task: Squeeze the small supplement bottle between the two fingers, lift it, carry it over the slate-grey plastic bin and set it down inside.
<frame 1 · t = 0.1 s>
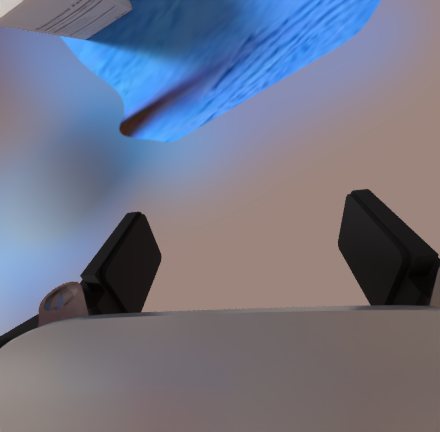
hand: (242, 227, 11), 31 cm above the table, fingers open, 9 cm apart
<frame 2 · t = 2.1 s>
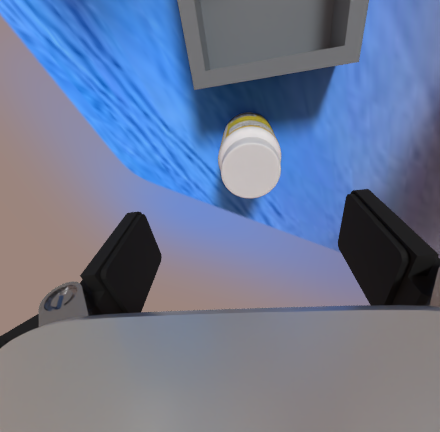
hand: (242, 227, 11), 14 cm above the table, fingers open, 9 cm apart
supplement bottle: (247, 137, 22), on the table
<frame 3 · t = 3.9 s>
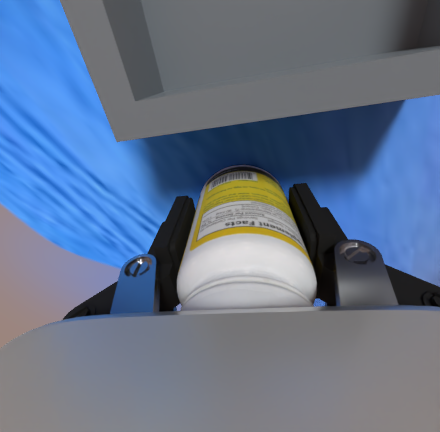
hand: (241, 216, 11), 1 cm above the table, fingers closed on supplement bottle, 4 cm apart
supplement bottle: (241, 200, 13), on the table, touching gripper
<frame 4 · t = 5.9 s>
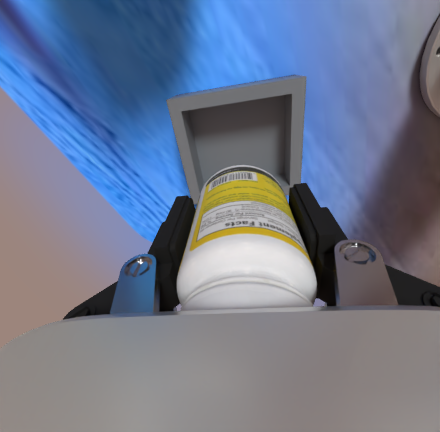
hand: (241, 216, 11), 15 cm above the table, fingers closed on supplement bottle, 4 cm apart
bin: (239, 139, 23), on the table
supplement bottle: (241, 200, 13), point 13 cm above the table, touching gripper
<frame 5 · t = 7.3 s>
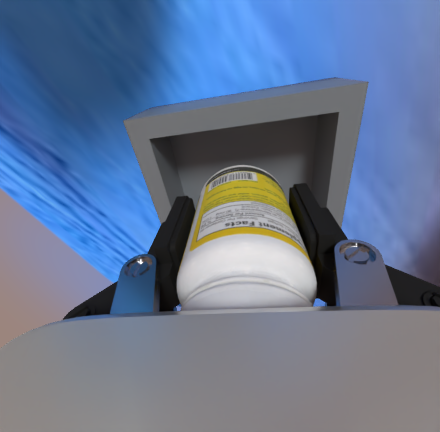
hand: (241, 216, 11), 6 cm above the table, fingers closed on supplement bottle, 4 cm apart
bin: (244, 171, 16), on the table
supplement bottle: (241, 201, 13), point 4 cm above the table, touching gripper
when the fingers open (4 cm above the table, at t = 8.4 s): supplement bottle drops 2 cm, resting on bin.
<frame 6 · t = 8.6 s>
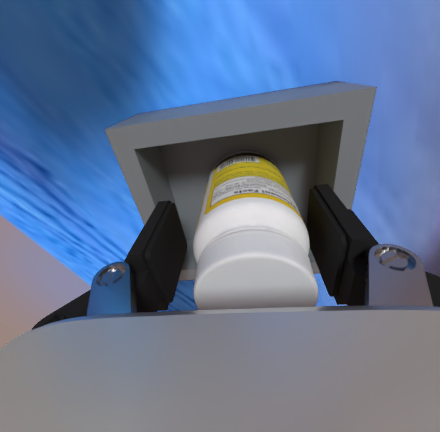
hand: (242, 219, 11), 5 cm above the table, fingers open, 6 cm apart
bin: (240, 180, 15), on the table
supplement bottle: (244, 185, 14), point 1 cm above the table, touching bin
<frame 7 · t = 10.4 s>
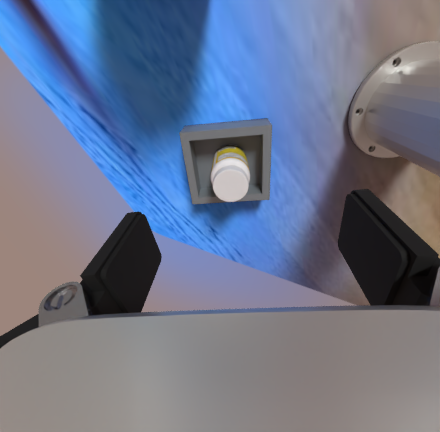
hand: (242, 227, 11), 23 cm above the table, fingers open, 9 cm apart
bin: (228, 158, 32), on the table
supplement bottle: (230, 160, 32), point 1 cm above the table, touching bin
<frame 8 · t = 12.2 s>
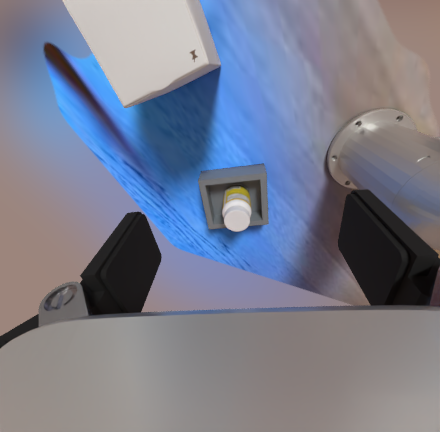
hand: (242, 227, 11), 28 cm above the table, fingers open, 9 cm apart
bin: (235, 192, 41), on the table
supplement box: (178, 44, 30), on the table
supplement bottle: (236, 194, 41), point 1 cm above the table, touching bin
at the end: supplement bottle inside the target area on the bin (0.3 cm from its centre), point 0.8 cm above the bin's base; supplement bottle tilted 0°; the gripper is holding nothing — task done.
